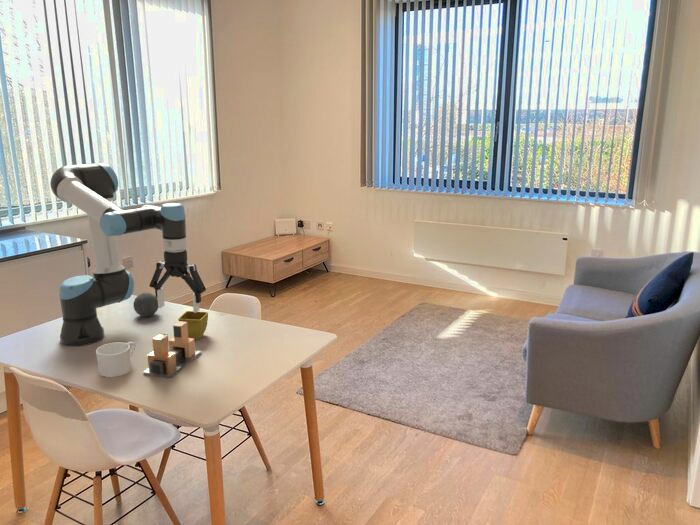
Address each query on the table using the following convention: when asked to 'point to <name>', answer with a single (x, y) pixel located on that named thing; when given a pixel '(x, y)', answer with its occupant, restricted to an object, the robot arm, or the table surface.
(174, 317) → the table surface
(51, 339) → the table surface
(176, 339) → the tan wooden arch block
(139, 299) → the decorative ball
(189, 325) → the flower pot
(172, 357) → the rail base
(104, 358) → the mug
